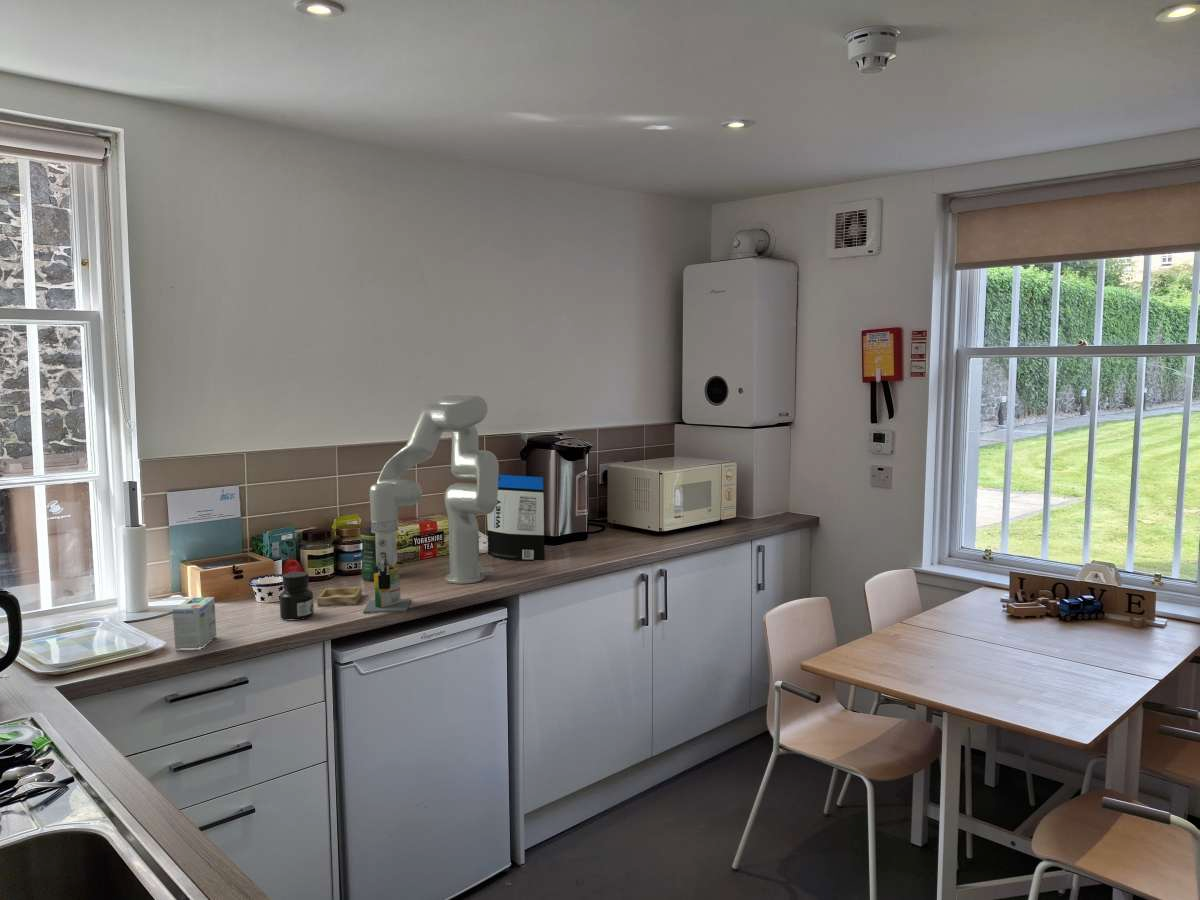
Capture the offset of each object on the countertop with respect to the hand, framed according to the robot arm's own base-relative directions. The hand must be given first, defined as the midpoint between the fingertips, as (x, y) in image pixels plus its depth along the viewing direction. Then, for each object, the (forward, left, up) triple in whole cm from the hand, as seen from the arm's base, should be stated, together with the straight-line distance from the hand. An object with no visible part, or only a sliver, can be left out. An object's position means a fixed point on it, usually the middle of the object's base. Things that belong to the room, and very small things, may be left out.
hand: (386, 584), depth 249 cm
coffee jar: (+8, -36, -7) cm, 37 cm away
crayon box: (0, 0, -6) cm, 6 cm away
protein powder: (-38, -59, -7) cm, 71 cm away
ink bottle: (+24, +6, -7) cm, 26 cm away
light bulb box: (+44, +27, -7) cm, 52 cm away
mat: (0, 0, -7) cm, 7 cm away
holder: (+15, -9, -7) cm, 19 cm away
